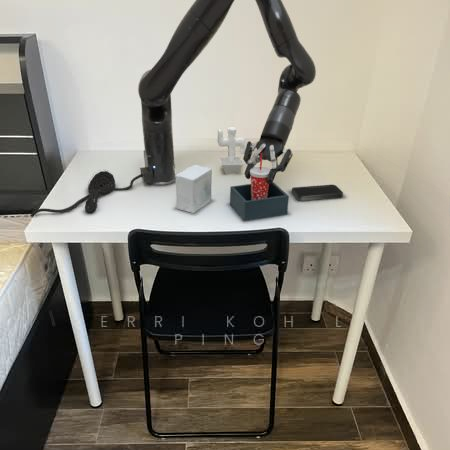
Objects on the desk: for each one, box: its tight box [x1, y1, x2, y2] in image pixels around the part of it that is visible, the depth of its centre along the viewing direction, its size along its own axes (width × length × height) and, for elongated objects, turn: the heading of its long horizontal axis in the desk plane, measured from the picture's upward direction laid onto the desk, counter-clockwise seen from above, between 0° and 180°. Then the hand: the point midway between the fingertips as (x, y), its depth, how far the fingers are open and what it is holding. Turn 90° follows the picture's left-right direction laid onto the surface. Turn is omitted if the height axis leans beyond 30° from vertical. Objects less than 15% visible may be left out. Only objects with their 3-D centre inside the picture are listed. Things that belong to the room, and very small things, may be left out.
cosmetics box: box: [175, 164, 213, 214], centre depth 136 cm, size 10×6×10 cm, turn 151°
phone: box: [291, 184, 344, 202], centre depth 145 cm, size 8×1×15 cm
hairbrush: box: [84, 169, 116, 214], centre depth 142 cm, size 8×4×25 cm
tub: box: [229, 181, 290, 222], centre depth 135 cm, size 14×12×6 cm
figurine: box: [217, 125, 246, 175], centre depth 156 cm, size 7×9×15 cm
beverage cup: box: [250, 153, 271, 200], centre depth 131 cm, size 6×6×14 cm
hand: (257, 180), depth 130 cm, fingers closed on beverage cup, 6 cm apart
